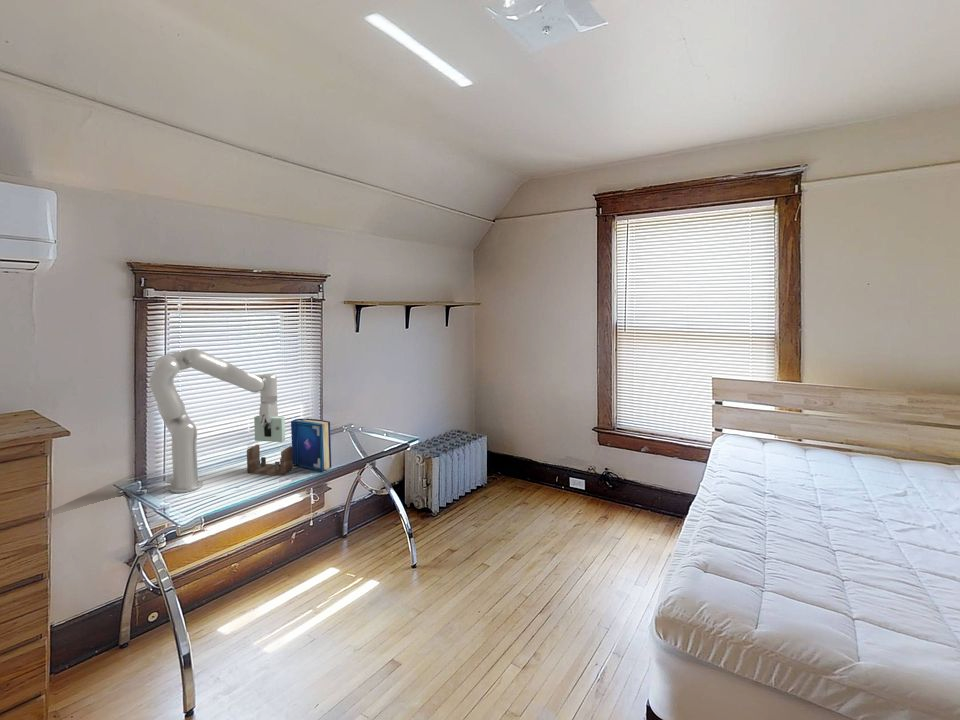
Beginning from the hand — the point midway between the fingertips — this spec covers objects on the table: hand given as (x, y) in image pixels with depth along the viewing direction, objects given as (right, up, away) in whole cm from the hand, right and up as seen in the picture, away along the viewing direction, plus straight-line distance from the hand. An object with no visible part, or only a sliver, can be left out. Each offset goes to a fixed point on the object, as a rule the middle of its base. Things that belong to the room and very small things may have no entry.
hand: (269, 435), depth 241 cm
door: (0, -3, 0) cm, 3 cm away
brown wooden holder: (-1, -19, +2) cm, 19 cm away
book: (+17, -18, +10) cm, 27 cm away
